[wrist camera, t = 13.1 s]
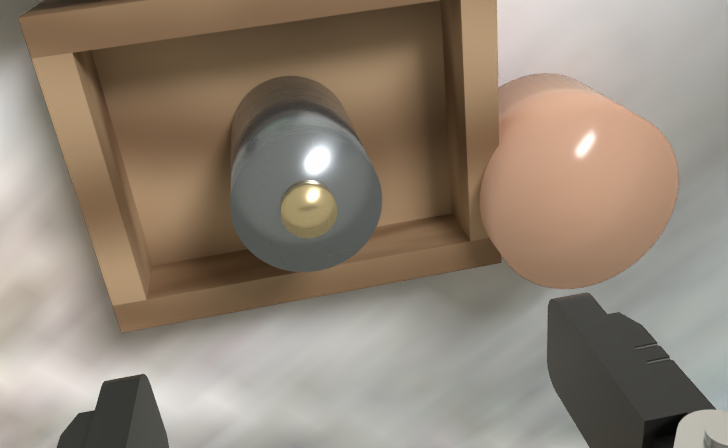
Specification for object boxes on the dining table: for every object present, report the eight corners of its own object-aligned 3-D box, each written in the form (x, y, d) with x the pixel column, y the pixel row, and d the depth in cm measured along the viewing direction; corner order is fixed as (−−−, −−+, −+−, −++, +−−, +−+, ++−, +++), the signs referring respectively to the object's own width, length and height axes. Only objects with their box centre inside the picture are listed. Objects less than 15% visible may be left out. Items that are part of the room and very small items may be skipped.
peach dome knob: (616, 61, 28) (688, 95, 24) (606, 215, 31) (669, 270, 27) (448, 87, 27) (490, 127, 23) (456, 242, 30) (495, 304, 26)
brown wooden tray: (46, -1, 23) (18, 17, 20) (462, -57, 25) (495, -48, 22) (133, 283, 29) (121, 332, 26) (473, 223, 30) (501, 262, 27)
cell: (341, 67, 25) (377, 126, 19) (355, 178, 27) (391, 265, 21) (220, 85, 25) (215, 152, 18) (243, 197, 27) (246, 292, 20)
